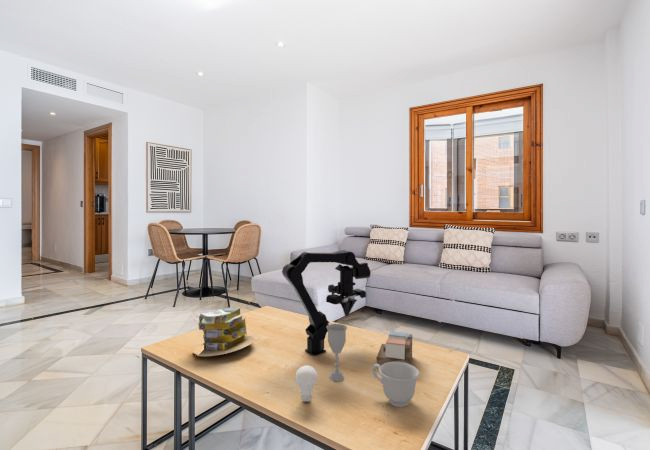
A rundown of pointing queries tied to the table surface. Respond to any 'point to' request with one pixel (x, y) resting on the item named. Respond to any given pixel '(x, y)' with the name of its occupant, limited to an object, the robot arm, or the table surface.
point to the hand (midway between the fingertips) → (346, 316)
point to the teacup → (397, 381)
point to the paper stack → (223, 331)
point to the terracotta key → (395, 348)
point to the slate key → (398, 335)
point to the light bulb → (306, 381)
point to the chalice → (336, 346)
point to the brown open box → (408, 358)
